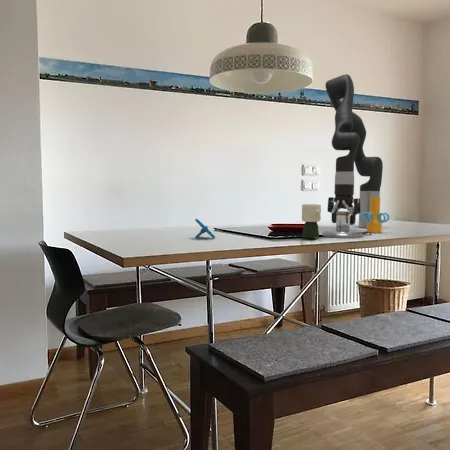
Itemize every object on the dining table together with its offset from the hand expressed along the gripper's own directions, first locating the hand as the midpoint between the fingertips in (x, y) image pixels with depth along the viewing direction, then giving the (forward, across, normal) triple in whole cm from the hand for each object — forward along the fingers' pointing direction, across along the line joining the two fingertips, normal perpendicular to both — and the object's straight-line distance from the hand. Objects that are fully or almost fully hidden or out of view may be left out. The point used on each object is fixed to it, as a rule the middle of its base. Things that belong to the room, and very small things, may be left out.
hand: (343, 223), depth 198 cm
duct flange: (+5, 0, 0) cm, 5 cm away
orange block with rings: (+5, 0, +22) cm, 22 cm away
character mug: (+5, -1, -18) cm, 19 cm away
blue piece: (+5, -26, -50) cm, 56 cm away
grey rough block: (+3, 0, 0) cm, 3 cm away
